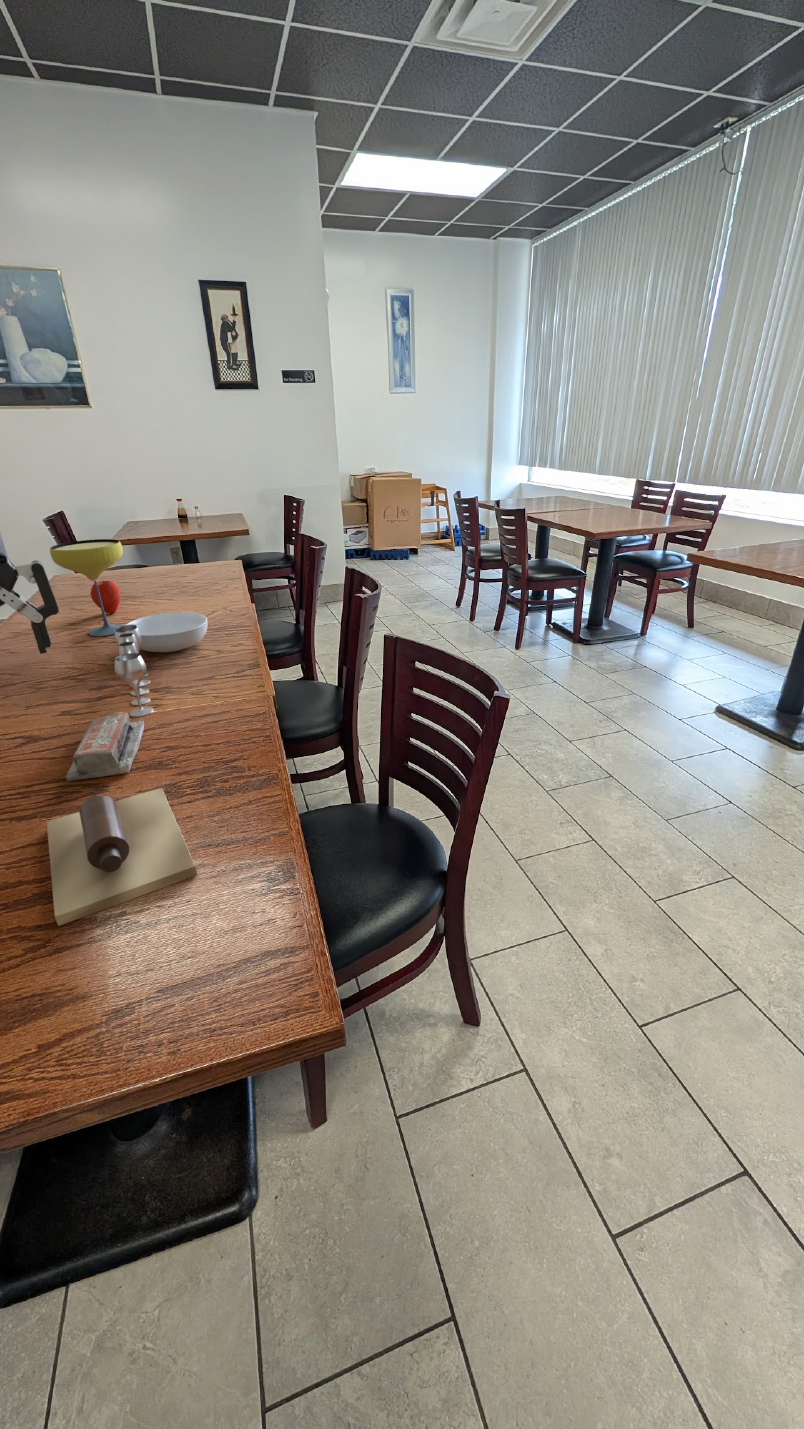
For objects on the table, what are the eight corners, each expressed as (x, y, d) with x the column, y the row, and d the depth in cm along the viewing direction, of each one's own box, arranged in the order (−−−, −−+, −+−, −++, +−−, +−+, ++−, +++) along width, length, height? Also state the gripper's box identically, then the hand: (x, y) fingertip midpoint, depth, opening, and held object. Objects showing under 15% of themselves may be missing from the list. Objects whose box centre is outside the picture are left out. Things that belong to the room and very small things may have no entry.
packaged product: (124, 749, 96) (58, 758, 94) (131, 774, 99) (66, 783, 97) (140, 705, 112) (84, 712, 110) (145, 727, 114) (91, 735, 112)
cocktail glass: (80, 626, 179) (56, 542, 168) (143, 619, 183) (124, 537, 173) (68, 644, 163) (41, 552, 152) (138, 636, 168) (116, 546, 157)
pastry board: (58, 926, 68) (54, 916, 67) (49, 829, 85) (46, 821, 85) (197, 875, 75) (195, 865, 75) (163, 795, 92) (161, 787, 92)
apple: (92, 617, 187) (83, 584, 182) (102, 610, 194) (93, 578, 190) (119, 616, 187) (111, 582, 183) (128, 609, 195) (120, 576, 190)
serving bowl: (171, 665, 145) (165, 638, 142) (112, 654, 154) (105, 629, 151) (227, 640, 162) (223, 615, 159) (171, 631, 171) (166, 608, 168)
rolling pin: (95, 822, 85) (69, 803, 82) (122, 800, 86) (98, 780, 83) (109, 887, 73) (80, 867, 70) (141, 860, 74) (113, 840, 71)
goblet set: (126, 674, 141) (112, 620, 135) (151, 669, 143) (139, 617, 137) (126, 720, 118) (110, 658, 112) (156, 714, 120) (142, 653, 114)
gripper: (28, 505, 67) (67, 639, 75) (-129, 517, 61) (-69, 662, 68) (29, 510, 62) (72, 656, 69) (-144, 524, 55) (-77, 683, 62)
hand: (2, 659), depth 68 cm, fingers open, 8 cm apart
